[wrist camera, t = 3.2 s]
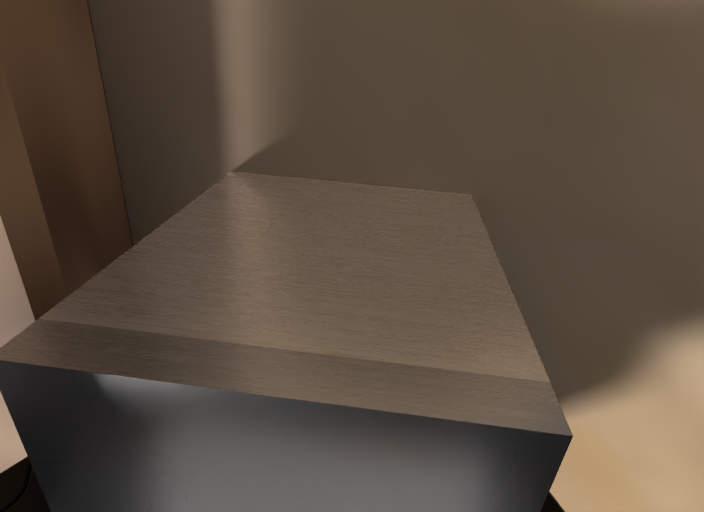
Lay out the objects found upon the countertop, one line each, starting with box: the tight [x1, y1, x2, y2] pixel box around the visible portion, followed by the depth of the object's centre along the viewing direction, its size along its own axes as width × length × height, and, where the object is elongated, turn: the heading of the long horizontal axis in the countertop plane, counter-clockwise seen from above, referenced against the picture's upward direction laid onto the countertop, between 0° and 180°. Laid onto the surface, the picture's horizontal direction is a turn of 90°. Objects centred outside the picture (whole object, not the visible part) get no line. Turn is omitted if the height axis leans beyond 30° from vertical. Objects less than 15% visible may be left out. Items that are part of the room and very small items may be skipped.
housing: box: [0, 171, 573, 512], centre depth 8 cm, size 8×5×6 cm, turn 177°
